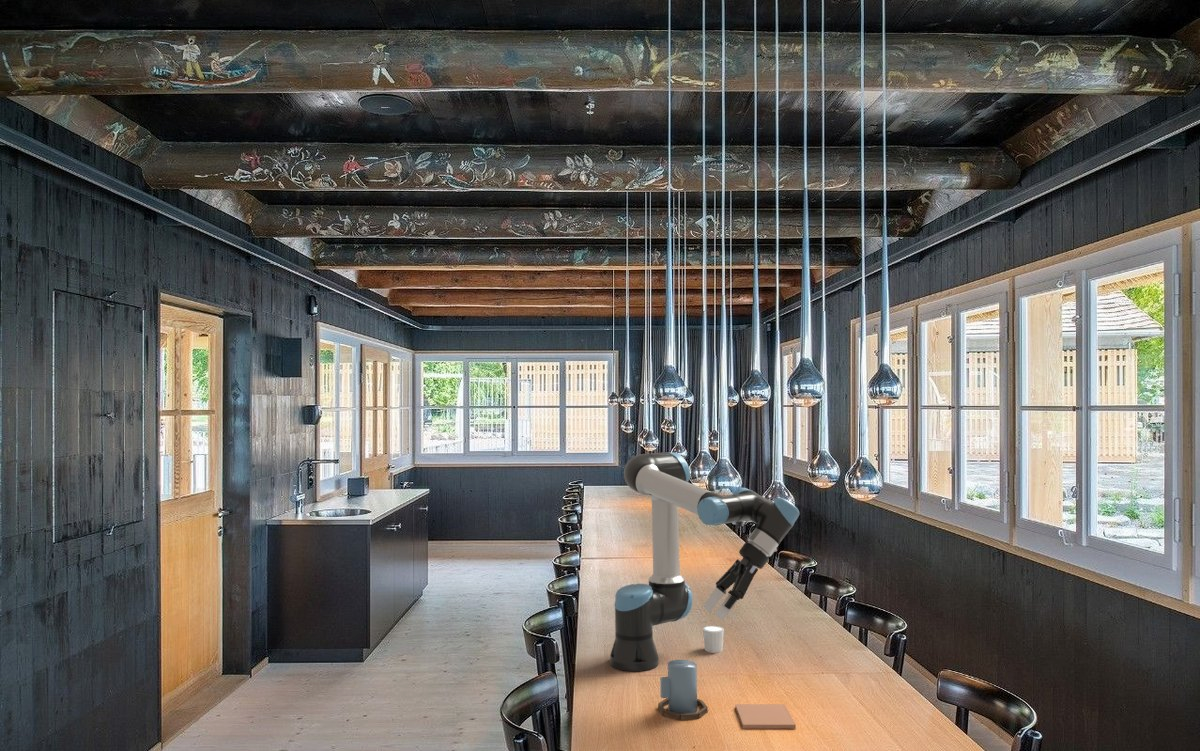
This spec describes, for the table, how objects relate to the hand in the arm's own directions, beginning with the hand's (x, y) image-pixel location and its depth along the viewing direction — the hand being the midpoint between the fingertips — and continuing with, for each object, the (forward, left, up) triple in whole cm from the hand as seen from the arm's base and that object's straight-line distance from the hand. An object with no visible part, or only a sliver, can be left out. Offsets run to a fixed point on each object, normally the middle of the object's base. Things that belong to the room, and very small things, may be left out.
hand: (711, 613), depth 209 cm
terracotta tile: (-1, +14, -25) cm, 28 cm away
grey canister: (+7, -6, -25) cm, 27 cm away
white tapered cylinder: (-43, -21, -25) cm, 54 cm away
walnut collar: (+6, -6, -25) cm, 26 cm away
